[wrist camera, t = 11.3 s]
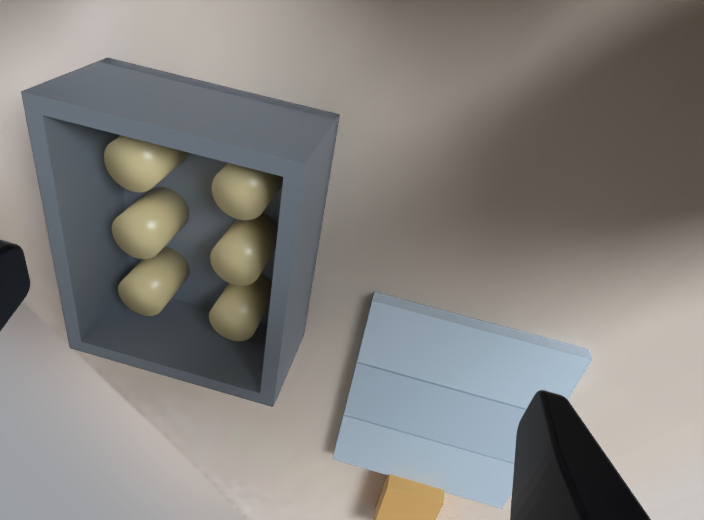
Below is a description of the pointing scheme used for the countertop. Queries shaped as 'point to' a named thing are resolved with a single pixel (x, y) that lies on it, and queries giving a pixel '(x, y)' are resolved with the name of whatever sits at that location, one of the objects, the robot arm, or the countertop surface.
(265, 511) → the countertop surface
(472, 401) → the lid
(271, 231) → the tub
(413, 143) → the countertop surface
